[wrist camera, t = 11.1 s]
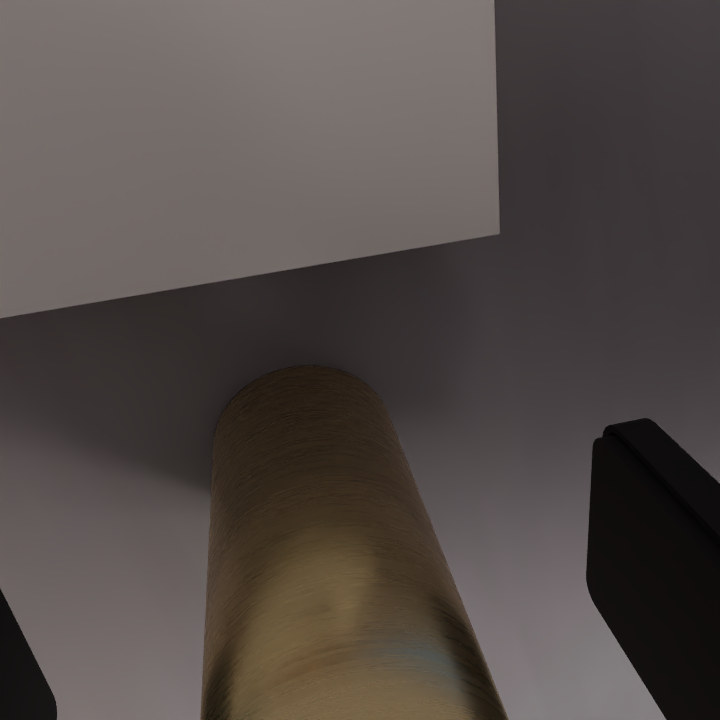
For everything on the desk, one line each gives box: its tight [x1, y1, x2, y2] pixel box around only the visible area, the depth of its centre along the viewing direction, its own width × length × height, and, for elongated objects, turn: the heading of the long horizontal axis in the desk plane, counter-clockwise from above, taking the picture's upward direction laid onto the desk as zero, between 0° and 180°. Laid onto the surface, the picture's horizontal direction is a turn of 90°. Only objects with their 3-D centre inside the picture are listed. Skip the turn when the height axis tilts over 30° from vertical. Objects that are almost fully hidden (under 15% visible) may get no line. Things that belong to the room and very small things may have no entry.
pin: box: [200, 366, 509, 720], centre depth 8 cm, size 3×3×9 cm
